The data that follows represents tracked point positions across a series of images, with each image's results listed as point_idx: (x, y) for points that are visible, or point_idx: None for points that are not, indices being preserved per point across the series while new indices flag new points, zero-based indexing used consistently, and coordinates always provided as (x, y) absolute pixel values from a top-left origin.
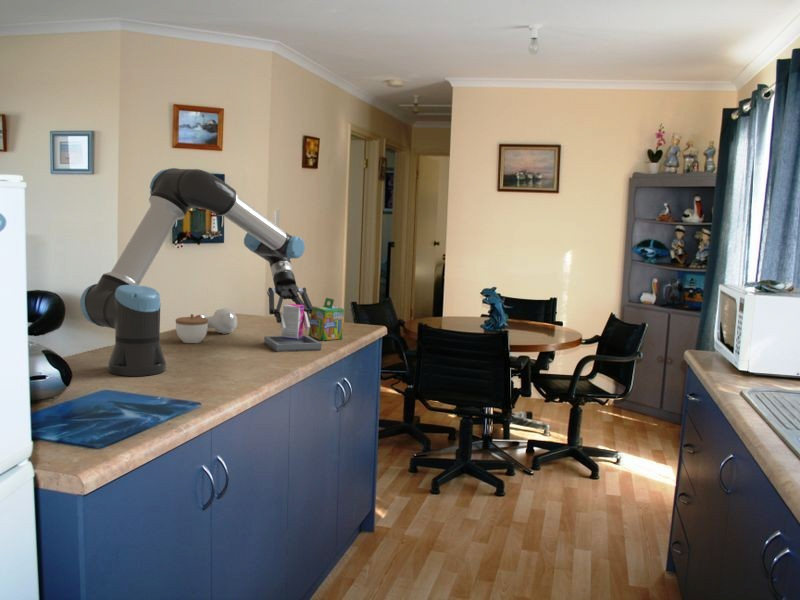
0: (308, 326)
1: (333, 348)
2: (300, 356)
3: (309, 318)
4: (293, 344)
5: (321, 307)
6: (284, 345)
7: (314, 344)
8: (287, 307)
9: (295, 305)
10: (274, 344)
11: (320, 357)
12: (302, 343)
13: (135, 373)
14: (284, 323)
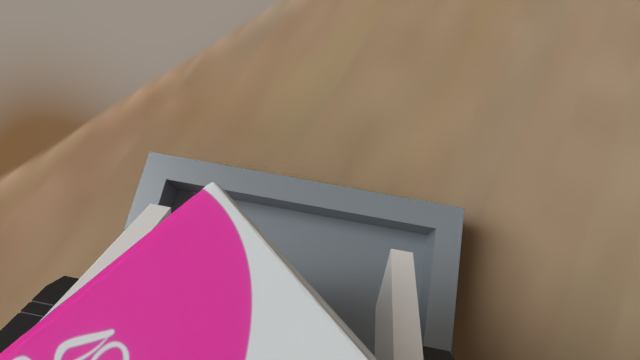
0: (162, 208)
1: (59, 188)
2: (370, 67)
3: (55, 289)
4: (347, 187)
5: None
6: (409, 200)
7: (199, 162)
8: (357, 340)
9: (174, 357)
10: (455, 270)
11: (283, 12)
12: (275, 188)
13: None
14: (396, 280)
